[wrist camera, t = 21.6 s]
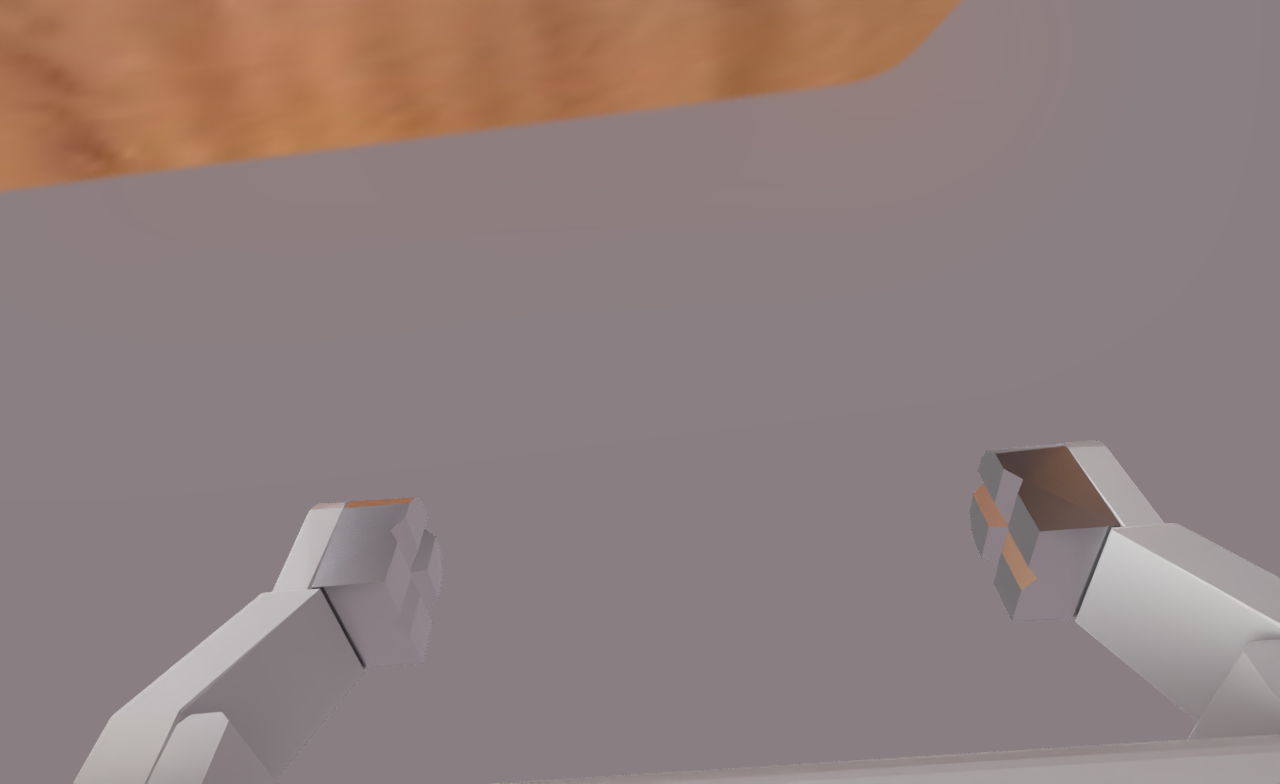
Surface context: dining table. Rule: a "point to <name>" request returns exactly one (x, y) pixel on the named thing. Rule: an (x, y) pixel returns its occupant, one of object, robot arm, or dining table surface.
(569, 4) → the dining table surface
